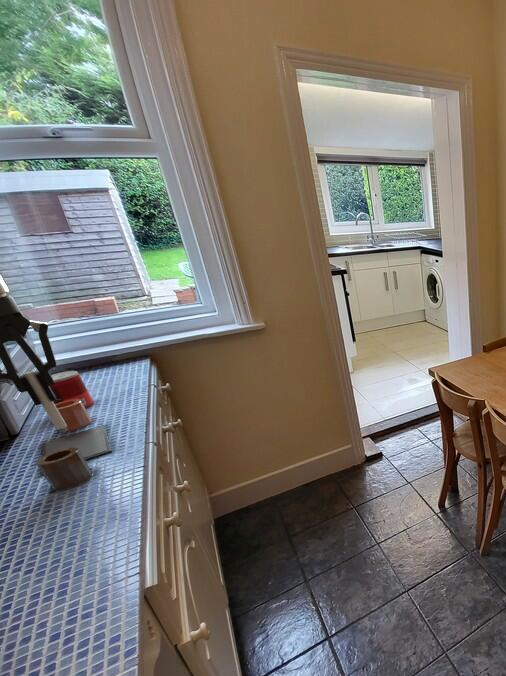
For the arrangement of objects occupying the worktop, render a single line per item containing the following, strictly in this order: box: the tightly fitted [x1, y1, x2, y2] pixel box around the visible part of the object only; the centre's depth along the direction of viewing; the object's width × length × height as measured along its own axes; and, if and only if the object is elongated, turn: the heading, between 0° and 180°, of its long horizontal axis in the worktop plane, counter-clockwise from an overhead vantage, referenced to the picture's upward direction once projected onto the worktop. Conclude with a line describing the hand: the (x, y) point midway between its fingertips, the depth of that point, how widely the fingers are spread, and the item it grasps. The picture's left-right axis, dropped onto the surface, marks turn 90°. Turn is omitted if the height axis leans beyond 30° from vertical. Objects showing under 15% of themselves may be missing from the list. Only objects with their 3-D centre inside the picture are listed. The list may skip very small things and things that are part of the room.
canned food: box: [50, 370, 94, 409], centre depth 123 cm, size 8×8×11 cm
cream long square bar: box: [22, 370, 68, 433], centre depth 93 cm, size 2×2×15 cm
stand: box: [35, 447, 94, 491], centre depth 89 cm, size 6×6×7 cm
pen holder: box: [55, 399, 93, 432], centre depth 113 cm, size 6×6×7 cm
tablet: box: [40, 424, 113, 477], centre depth 103 cm, size 20×12×1 cm, turn 47°
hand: (46, 401), depth 93 cm, fingers closed on cream long square bar, 2 cm apart
